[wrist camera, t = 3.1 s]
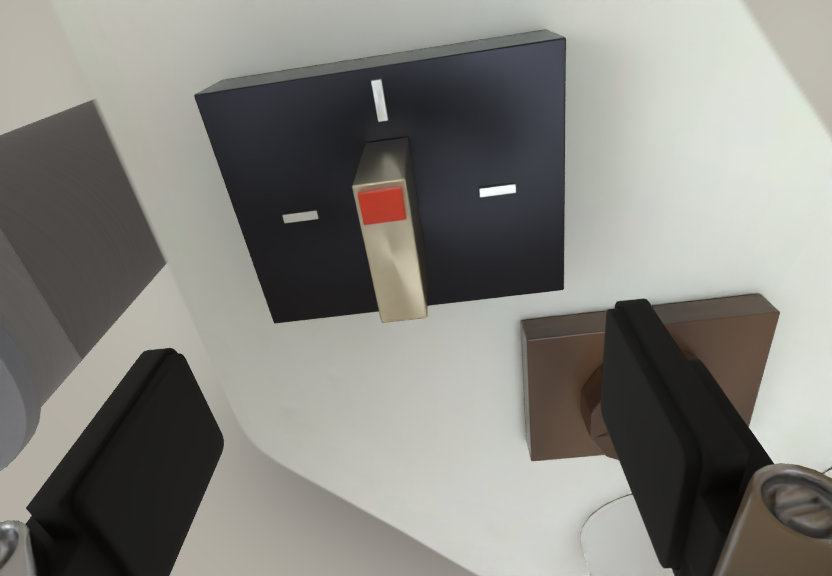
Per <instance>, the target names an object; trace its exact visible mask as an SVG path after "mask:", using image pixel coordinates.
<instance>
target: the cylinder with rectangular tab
mask: <svg viewBox="0 0 832 576" xmlns="http://www.w3.org/2000/svg"><path fill="white" fill-rule="evenodd" d="M580 538H581V546H582V549H583V553H584V556H585V560H586V563H587V567H588V570H589V574H590V576H674V573H673V571H672V568H666V569H664V568H663V567H662V566H661V565H660V563H659V560H658V558H657V556H656V553H655V551H654V548H653V545H652V543H651V540H650V538H649V535H648V533H647V530H646V527H645V525H644V522H643V520H642V517H641V515H640V512H639V510H638V507H637V504H636V502H635V499H634V497H633V494H632V495H629V496H626V497H622V498H619V499H617V500H615V501H613V502H611V503H609V504H607V505H605V506H603V507H602V508H600V509H599V510H598V511H596V512H595V513H594V514H593V515H591V516H590V518H589V519H588V520H587V522H586V523H585V524H584V526H583V529H582V532H581V535H580Z"/></svg>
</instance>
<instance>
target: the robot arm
mask: <svg viewBox="0 0 832 576" xmlns="http://www.w3.org/2000/svg"><path fill="white" fill-rule="evenodd" d="M601 412H602V417H603V420H604V422H605V425H606V428H607V430H608V433H609V435H610V438H611V440H612V443H613V445H614V448H615V451H616V453H617V456H618V458H619V461H620V463H621V466H622V469H623V471H624V474H625V476H626V479H627V481H628V484H629V486H630V489H631V492H632V494H633V497H634V499H635V502H636V504H637V507H638V510H639V512H640V515H641V517H642V520H643V522H644V525H645V527H646V530H647V533H648V535H649V538H650V540H651V543H652V545H653V548H654V551H655V553H656V556H657V558H658V560H659V563H660V565H661V566H662V567H663V568H664V569H666V568H672V571H673V573H674V576H832V478H830V477H828V476H826V475H824V474H822V473H820V472H818V471H816V470H813V469H810V468H806V467H803V466H799V465H793V464H782V463H780V464H774V463H773V461H772V460H771V459H770V457H769V456H768V454H767V453H766V451H765V450H764V449H763V447H762V446H761V444H760V443H759V441H758V440H757V439H756V437H755V436H754V434H753V433H752V431H751V430H750V429H749V427H748V426H747V424H746V423H745V421H744V420H743V419H742V417H741V416H740V414H739V413H738V411H737V410H736V409H735V407H734V406H733V404H732V403H731V401H730V400H729V399H728V397H727V396H726V394H725V393H724V392H723V390H722V389H721V387H720V386H719V384H718V383H717V382H716V380H715V379H714V377H713V376H712V374H711V373H710V372H709V370H708V369H707V367H706V366H705V365H704V363H703V362H702V361H701V360H700V359H698V358H696V357H694V358H686V357H685V355H684V354H683V352H682V351H681V349H680V348H679V346H678V345H677V343H676V342H675V340H674V339H673V337H672V336H671V334H670V333H669V331H668V330H667V328H666V327H665V325H664V324H663V322H662V321H661V319H660V318H659V316H658V315H657V313H656V312H655V310H654V309H653V307H652V306H651V304H650V303H649V302H648V300H647V299H636V300H627V301H618V302H616V304H615V309H608V310H607V312H606V323H605V339H604V355H603V370H602V386H601ZM223 446H224V439H223V435H222V433H221V431H220V429H219V427H218V425H217V422H216V420H215V418H214V416H213V414H212V412H211V410H210V408H209V406H208V404H207V402H206V400H205V398H204V396H203V394H202V392H201V390H200V387H199V385H198V383H197V381H196V379H195V377H194V375H193V373H192V371H191V369H190V367H189V365H188V363H187V361H186V359H185V357H184V356H183V355H182V354H178V353H177V352H176V351H175V350H174V349H172V348H165V349H156V350H147V351H144V352H143V353H142V354H141V355H140V356H139V358H138V359H137V360H136V362H135V363H134V364H133V366H132V367H131V368H130V370H129V371H128V372H127V374H126V375H125V376H124V378H123V379H122V381H121V382H120V383H119V384H118V386H117V387H116V388H115V390H114V391H113V393H112V394H111V395H110V396H109V398H108V399H107V401H106V402H105V403H104V405H103V406H102V407H101V409H100V410H99V411H98V413H97V414H96V415H95V417H94V418H93V419H92V421H91V422H90V423H89V425H88V426H87V427H86V429H85V430H84V431H83V433H82V434H81V435H80V437H79V438H78V439H77V441H76V442H75V443H74V445H73V446H72V447H71V449H70V450H69V451H68V453H67V454H66V455H65V457H64V458H63V459H62V461H61V462H60V463H59V465H58V466H57V467H56V469H55V470H54V471H53V473H52V474H51V475H50V477H49V478H48V479H47V481H46V482H45V483H44V485H43V486H42V488H41V489H40V490H39V492H38V493H37V494H36V496H35V497H34V498H33V500H32V501H31V502H30V503H29V505H28V506H27V507H26V509H27V510H28V511H29V512H30V514H31V515H32V516H31V518H30V519H29V520H28V522H27V523H26V524H24V523H22V522H20V521H4V522H0V576H169V575H170V573H171V571H172V568H173V566H174V563H175V561H176V559H177V557H178V554H179V552H180V550H181V547H182V545H183V542H184V540H185V538H186V536H187V533H188V531H189V528H190V526H191V524H192V521H193V519H194V517H195V514H196V512H197V510H198V507H199V505H200V503H201V501H202V498H203V496H204V494H205V491H206V489H207V486H208V484H209V482H210V479H211V477H212V475H213V472H214V470H215V468H216V465H217V463H218V461H219V458H220V456H221V454H222V451H223Z"/></svg>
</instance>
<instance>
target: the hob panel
mask: <svg viewBox="0 0 832 576" xmlns="http://www.w3.org/2000/svg"><path fill="white" fill-rule="evenodd" d="M565 81H566V38H565V37H563V36H560V35H558V34H556V33H553V32H551V31H549V30H539V31H533V32H526V33H520V34H514V35H507V36H501V37H494V38H488V39H482V40H475V41H469V42H462V43H456V44H450V45H443V46H437V47H430V48H424V49H418V50H411V51H405V52H399V53H392V54H386V55H379V56H373V57H367V58H360V59H354V60H347V61H341V62H335V63H328V64H322V65H315V66H309V67H303V68H296V69H290V70H283V71H277V72H271V73H264V74H258V75H251V76H245V77H239V78H232V79H226V80H221V81H219V82H218V83H216V84H214V85H212V86H210V87H208V88H206V89H205V90H203V91H201V92H199V93H197V94H195V95H194V97H195V100H196V103H197V105H198V108H199V111H200V114H201V117H202V120H203V122H204V125H205V128H206V131H207V134H208V137H209V139H210V142H211V145H212V148H213V151H214V154H215V157H216V159H217V162H218V165H219V168H220V171H221V174H222V176H223V179H224V182H225V185H226V188H227V191H228V193H229V196H230V199H231V202H232V205H233V208H234V211H235V213H236V216H237V219H238V222H239V225H240V228H241V230H242V233H243V236H244V239H245V242H246V245H247V247H248V250H249V253H250V256H251V259H252V262H253V265H254V267H255V270H256V273H257V276H258V279H259V282H260V284H261V287H262V290H263V293H264V296H265V299H266V301H267V304H268V307H269V310H270V313H271V316H272V319H273V321H274V323H283V322H292V321H300V320H309V319H317V318H326V317H335V316H343V315H352V314H360V313H369V312H377V311H379V308H378V303H377V299H376V294H375V290H374V285H373V280H372V276H371V271H370V267H369V262H368V258H367V253H366V248H365V244H364V239H363V235H362V230H361V225H360V221H359V216H358V212H357V207H356V202H355V198H354V193H353V189H352V185H353V182H354V179H355V176H356V173H357V170H358V166H359V163H360V160H361V157H362V154H363V151H364V147H365V144H366V143H371V142H378V141H385V140H392V139H399V138H406V137H407V138H408V139H409V146H410V152H411V159H412V166H413V172H414V179H415V186H416V192H417V199H418V206H419V212H420V219H421V226H422V232H423V239H424V246H425V252H426V274H427V306H429V305H438V304H446V303H455V302H463V301H472V300H481V299H489V298H498V297H506V296H515V295H523V294H532V293H541V292H549V291H558V290H563V289H564V205H565Z"/></svg>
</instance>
